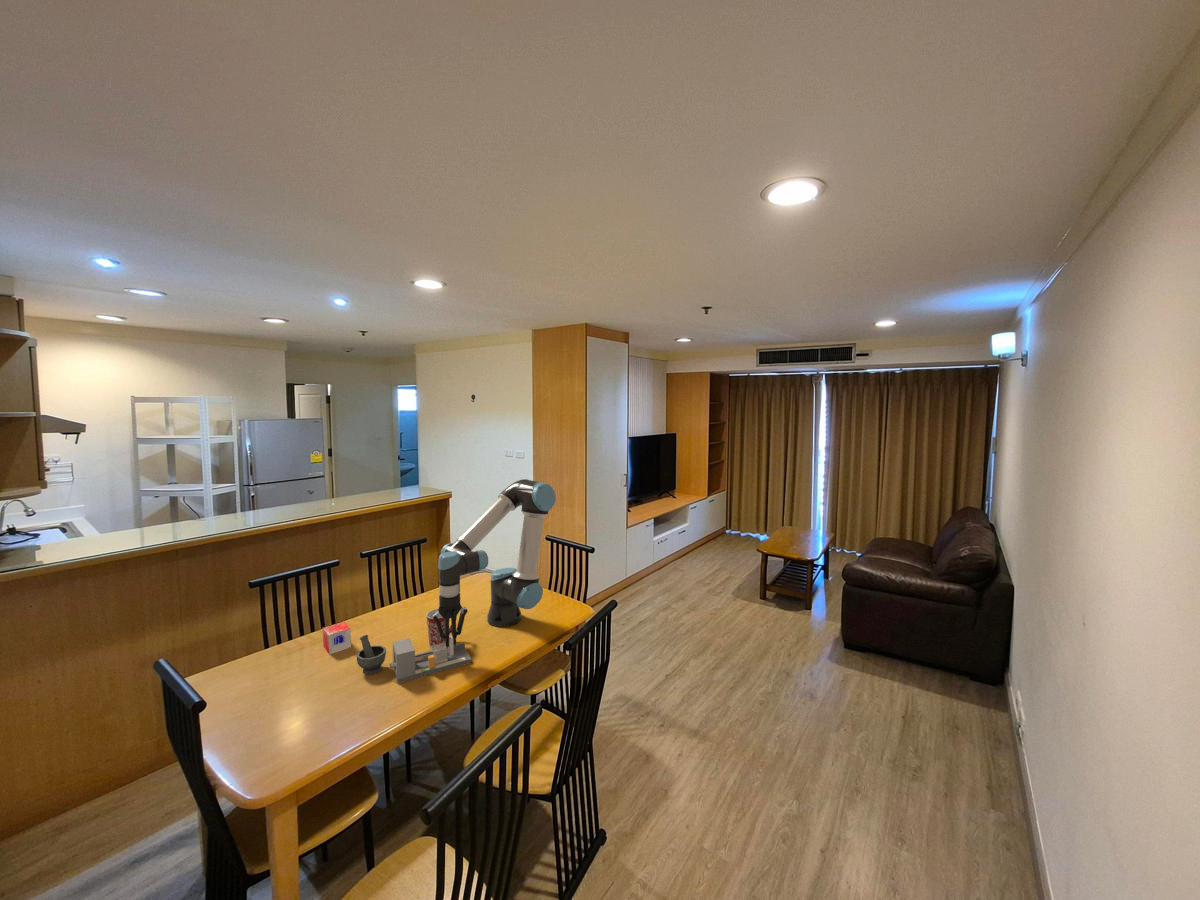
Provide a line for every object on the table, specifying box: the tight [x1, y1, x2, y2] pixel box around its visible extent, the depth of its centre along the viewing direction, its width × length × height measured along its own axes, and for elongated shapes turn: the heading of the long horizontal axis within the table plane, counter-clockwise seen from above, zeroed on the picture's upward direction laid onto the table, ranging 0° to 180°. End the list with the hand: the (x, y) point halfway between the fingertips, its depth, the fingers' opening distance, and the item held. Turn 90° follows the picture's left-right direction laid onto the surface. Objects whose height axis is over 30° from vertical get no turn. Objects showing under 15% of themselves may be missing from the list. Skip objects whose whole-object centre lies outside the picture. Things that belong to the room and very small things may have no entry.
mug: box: [425, 608, 458, 649], centre depth 191 cm, size 13×9×14 cm
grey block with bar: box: [388, 643, 448, 669], centre depth 172 cm, size 20×7×5 cm, turn 121°
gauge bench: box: [392, 637, 472, 684], centre depth 175 cm, size 26×10×10 cm, turn 121°
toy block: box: [322, 621, 352, 655], centre depth 188 cm, size 8×8×8 cm
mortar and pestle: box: [356, 634, 387, 676], centre depth 172 cm, size 11×9×12 cm
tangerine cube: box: [428, 654, 435, 669], centre depth 171 cm, size 2×2×4 cm
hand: (450, 653), depth 178 cm, fingers closed
